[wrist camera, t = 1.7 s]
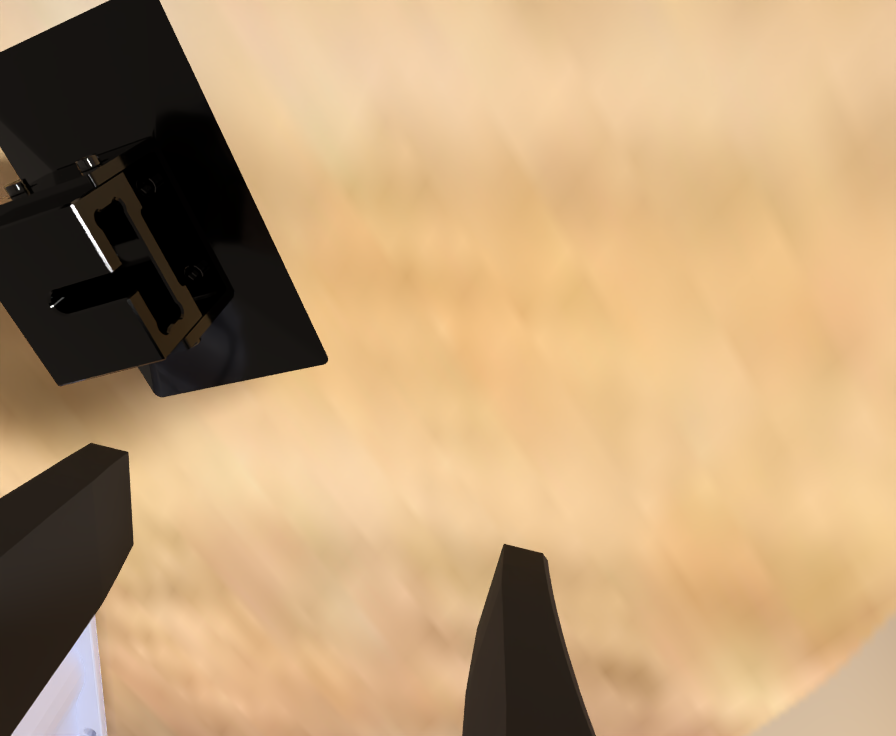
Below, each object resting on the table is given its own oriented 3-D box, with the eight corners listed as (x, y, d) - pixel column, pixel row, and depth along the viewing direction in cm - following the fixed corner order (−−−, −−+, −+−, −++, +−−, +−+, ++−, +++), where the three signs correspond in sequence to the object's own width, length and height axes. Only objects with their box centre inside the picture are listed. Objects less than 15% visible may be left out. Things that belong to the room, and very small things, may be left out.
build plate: (382, 388, 22) (337, 503, 18) (165, 435, 24) (83, 546, 20) (156, -105, 16) (17, -93, 12) (-104, 16, 18) (-292, 60, 14)
